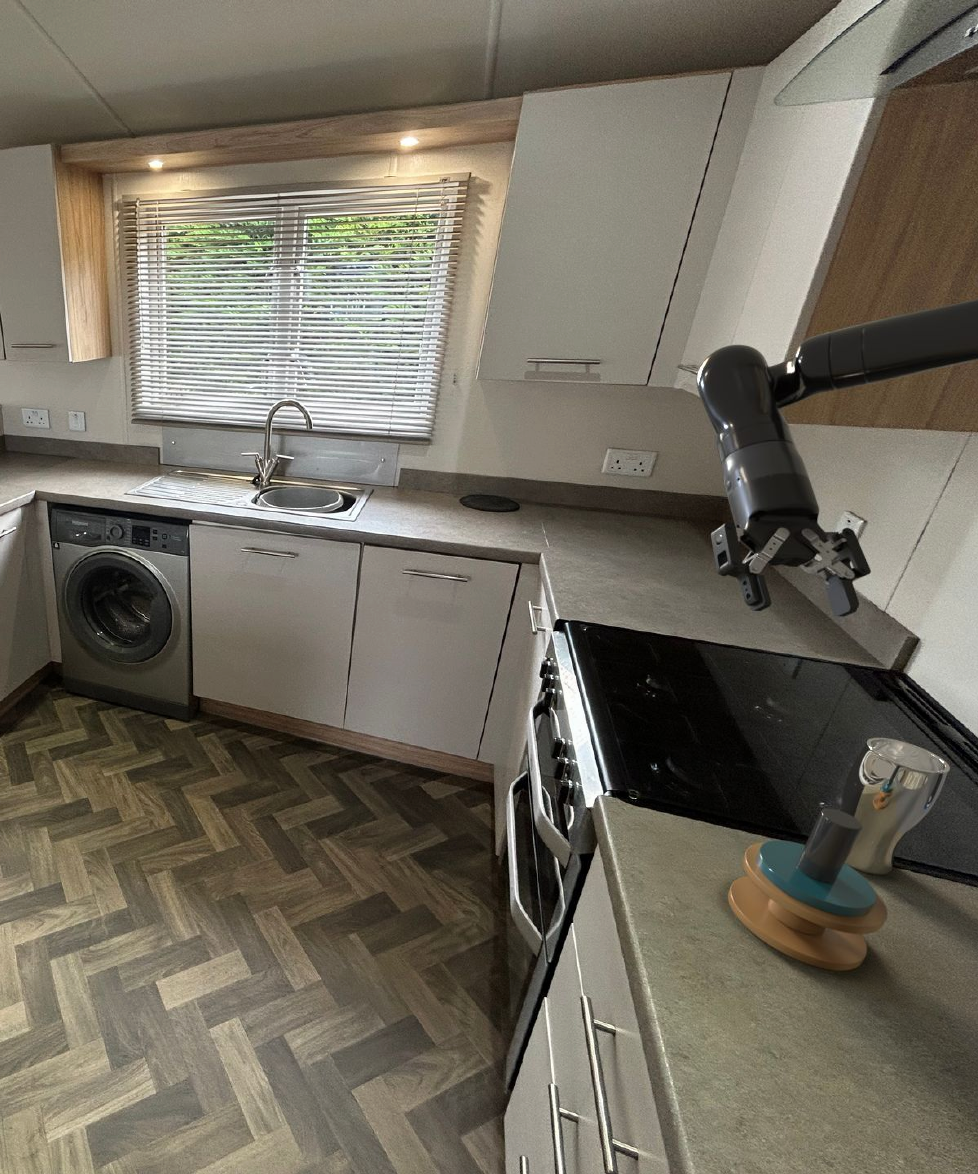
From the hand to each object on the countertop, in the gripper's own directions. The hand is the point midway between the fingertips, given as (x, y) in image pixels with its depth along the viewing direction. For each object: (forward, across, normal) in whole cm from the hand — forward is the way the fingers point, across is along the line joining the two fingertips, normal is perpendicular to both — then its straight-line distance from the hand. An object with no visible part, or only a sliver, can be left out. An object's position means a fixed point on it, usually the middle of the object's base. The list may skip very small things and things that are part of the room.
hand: (803, 611), depth 70 cm
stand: (+32, -1, +11) cm, 34 cm away
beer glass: (+24, +14, +20) cm, 34 cm away
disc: (+28, -1, +7) cm, 29 cm away
